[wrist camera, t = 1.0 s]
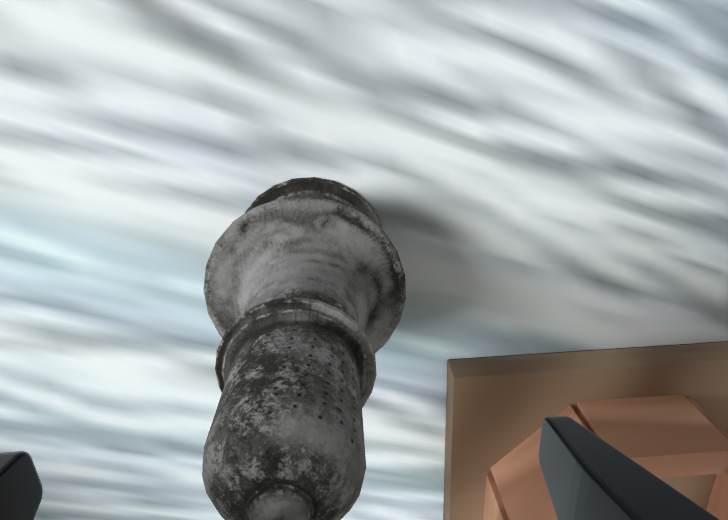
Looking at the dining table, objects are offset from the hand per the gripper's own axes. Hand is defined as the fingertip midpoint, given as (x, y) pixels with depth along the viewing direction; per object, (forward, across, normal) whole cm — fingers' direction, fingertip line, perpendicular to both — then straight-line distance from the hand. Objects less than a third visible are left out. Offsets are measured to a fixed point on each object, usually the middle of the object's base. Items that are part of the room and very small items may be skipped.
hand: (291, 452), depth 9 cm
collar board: (+10, -12, +12) cm, 20 cm away
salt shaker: (+10, 0, 0) cm, 10 cm away
